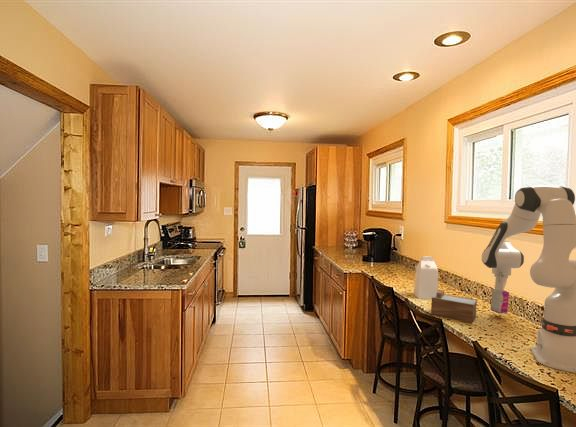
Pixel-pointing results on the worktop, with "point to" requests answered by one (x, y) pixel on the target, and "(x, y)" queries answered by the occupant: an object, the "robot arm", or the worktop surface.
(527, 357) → the worktop surface
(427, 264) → the milk
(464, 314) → the wooden box
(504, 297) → the supplement box
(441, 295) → the lid
